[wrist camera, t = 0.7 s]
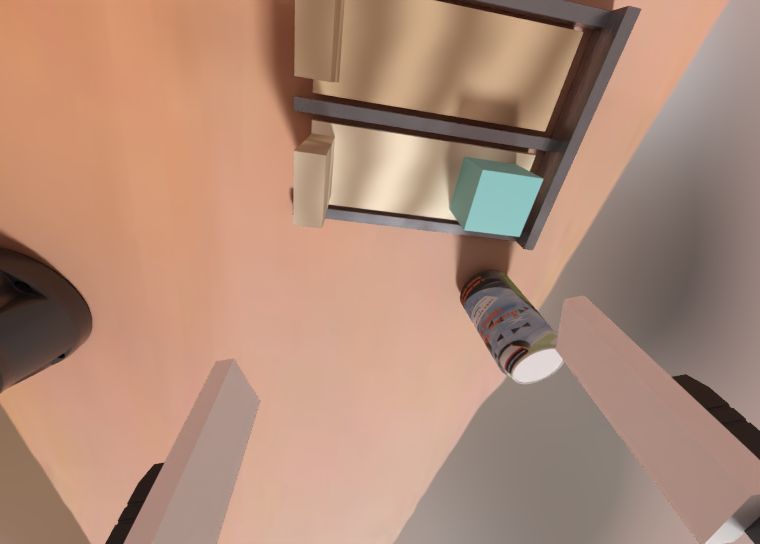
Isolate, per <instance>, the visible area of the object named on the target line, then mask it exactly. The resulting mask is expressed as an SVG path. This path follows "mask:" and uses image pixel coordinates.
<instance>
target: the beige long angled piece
mask: <svg viewBox="0 0 760 544" xmlns="http://www.w3.org/2000/svg"><path fill="white" fill-rule="evenodd" d="M535 156H536V155H533V154H531V153H525V152H519V151H513V150H506V149H500V148H494V147H487V146H481V145H475V144H468V143H462V142H455V141H449V140H443V139H436V138H430V137H424V136H417V135H411V134H405V133H398V132H392V131H386V130H379V129H373V128H367V127H360V126H354V125H347V124H341V123H335V122H328V121H322V120H316V119H313V120H312V129H311V134H310V135H309V136H308V137H307V138H306V139H305V140H304V141H303V142H302V143H301V144H300V145H299V146H298V147H297V148H296V149H295V150H294V202H293V225H296V226H305V227H313V228H322V227H323V223H324V219H325V215H326V212H327V208H328V204H330V205H338V206H346V207H354V208H362V209H370V210H378V211H386V212H394V213H402V214H410V215H418V216H426V217H434V218H442V219H450V220H457V219H456V218H455V217H454V215H453V214H452V212H451V211H450V206H451V202H452V199H453V195H454V192H455V188H456V184H457V181H458V177H459V173H460V170H461V166H462V162H463V159H464V157H471V158H477V159H484V160H490V161H497V162H504V163H510V164H516V165H518V166H520V167H522V168H524V169H526V170H528V171H530V169H531V167H532V164H533V161H534V159H535Z"/></svg>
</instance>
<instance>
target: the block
mask: <svg viewBox="0 0 760 544" xmlns="http://www.w3.org/2000/svg"><path fill="white" fill-rule="evenodd" d="M542 182H543V178H541V177H539V176H537V175H536V174H534V173H532V172H530V171H528V170H526V169H524V168H522V167H520V166H518V165H516V164H510V163H504V162H497V161H490V160H484V159H477V158H471V157H464V159H463V162H462V166H461V170H460V173H459V177H458V181H457V184H456V188H455V192H454V195H453V199H452V202H451V206H450V211H451V212H452V214H453V215H454V217H455V218H456V219H457V221H458V222H459V224H460V225H461V227H462V228H463V229H464V230H466V231H474V232H483V233H491V234H499V235H507V236H516V237H520V235H521V232H522V230H523V227H524V225H525V223H526V220H527V218H528V215H529V213H530V211H531V208H532V206H533V203H534V201H535V199H536V196H537V194H538V191H539V189H540V186H541V184H542Z"/></svg>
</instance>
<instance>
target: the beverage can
mask: <svg viewBox="0 0 760 544" xmlns="http://www.w3.org/2000/svg"><path fill="white" fill-rule="evenodd" d="M460 301H461V304H462V305H463V307H464V309H465V310H466V312H467V314H468V315H469V317H470V319H471V321H472V322H473V324H474V326H475V327H476V329H477V331H478V333H479V334H480V336H481V338H482V339H483V341H484V343H485V344H486V346H487V348H488V350H489V351H490V353H491V355H492V356H493V358H494V360H495V361H496V363H497V365H498V367H499V368H500V370H501V371H502V372H503V373H505V374H506V375H508V376H510V377H512V378H513V379H514V381H516V382H517V383H521V384H531V383H535V382H538V381H541V380H543V379H545V378H547V377H549V376H551V375H552V374H554V373H555V372H556V371H557V370H558V369H559V368H560V367H561V366H562V364H563V363H564V360H563V359H562V358H561V356H560V355H559V354H558V352H557V351H556V344H557V338H558V335H557V334H556V332H555V331H554V330H553V329H552V328H551V327H550V325H549V324H548V323H547V322H546V321H545V320H544V318H543V317H542V316H541V315H540V314H539V313H538V311H537V310H536V309H535V308H534V307H533V306H532V304H531V303H530V302H529V301H528V300H527V299H526V297H525V296H524V295H523V294H522V293H521V291H520V290H519V289H518V288H517V287H516V286H515V284H514V283H513V282H512V281H511V280H510V279H509V277H508V276H507V275H506V274H504V273H503V272H500V271H496V270H491V271H486V272H482V273H480V274H478V275H476V276H474V277H473V278H472V279H470V280H469V281H468V282H467V283H466V284H465V286H464V287H463V289H462V291H461V295H460Z"/></svg>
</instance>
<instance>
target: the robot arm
mask: <svg viewBox="0 0 760 544" xmlns="http://www.w3.org/2000/svg"><path fill="white" fill-rule="evenodd" d="M91 330H92V318H91V314H90V311H89V309H88V307H87V305H86V303H85V302H84V300H83V299H82V297H81V296H80V295H79V293H78V292H77V291H76V290H75V289H74V288H73V287H72V286H71V285H70V284H69V283H68V282H67V281H66V280H64V279H63V278H62V277H61V276H59V275H58V274H57V273H55V272H54V271H52V270H51V269H49V268H48V267H46V266H44V265H42V264H41V263H39V262H37V261H35V260H33V259H31V258H29V257H26V256H24V255H22V254H19V253H16V252H13V251H10V250H7V249H4V248H0V393H2V392H3V391H4V390H6V389H7V388H9V387H11V386H13V385H15V384H17V383H19V382H21V381H23V380H25V379H27V378H29V377H31V376H33V375H35V374H37V373H38V372H40V371H42V370H44V369H46V368H48V367H49V366H51V365H53V364H56V363H58V362H60V361H62V360H64V359H66V358H67V357H68V356H70V355H71V354H72V353H73V352H75V351H76V350H77V349H78V348H79V347H80V346H81V345H82V344H83V343H84V342H85V341H86V340H87V339H88V337H89V336H90V333H91ZM556 351H557V352H558V354H559V355H560V356H561V358H562V359H563V360H564V362H565V363H566V364H567V366H568V367H569V369H570V370H571V371H572V372H573V374H574V375H575V376H576V378H577V379H578V381H579V382H580V383H581V385H582V386H583V387H584V389H585V390H586V391H587V393H588V394H589V395H590V397H591V398H592V399H593V401H594V402H595V403H596V405H597V406H598V408H599V409H600V410H601V411H602V413H603V414H604V416H605V417H606V418H607V420H608V421H609V422H610V423H611V425H612V426H613V428H614V429H615V430H616V432H617V433H618V434H619V436H620V437H621V438H622V440H623V441H624V442H625V444H626V445H627V446H628V448H629V449H630V451H631V452H632V453H633V455H634V456H635V457H636V458H637V460H638V461H639V463H640V464H641V465H642V467H643V468H644V469H645V471H646V472H647V473H648V475H649V476H650V477H651V479H652V480H653V481H654V483H655V484H656V486H657V487H658V488H659V490H660V491H661V492H662V494H663V495H664V496H665V498H666V499H667V500H668V502H669V503H670V504H671V506H672V507H673V508H674V510H675V511H676V512H677V514H678V515H679V516H680V518H681V519H682V520H683V522H684V523H685V524H686V526H687V527H688V529H689V530H690V531H691V533H692V534H693V535H694V537H695V538H696V539H697V541H698V542H699V543H700V544H723V543H729V542H734V541H735V540H736V539H737V538H739V536H741V535H742V534H743V533H744V532H745V533H746V534H747V535H748V536H749V538H750V539H751V540H752V541H753V542H754V543H755V544H760V431H759V430H758V429H757V428H756V427H755V426H753V425H752V424H751V423H748V422H747V421H746V419H745V418H744V417H743V416H742V415H741V414H740V413H738V412H737V411H736V410H735V409H734V408H731V407H730V406H729V404H728V403H727V402H725V400H723V399H722V398H721V397H720V396H719V395H718V394H716V393H715V392H714V391H713V390H712V389H710V388H709V387H708V386H706V385H704V384H702V383H700V382H699V381H697V380H695V379H693V378H691V377H690V376H688V375H686V374H685V375H680V376H674V377H671V376H669V375H668V374H667V373H666V372H665V371H664V370H663V369H662V368H661V367H660V366H659V365H658V364H657V363H656V362H655V361H654V360H652V359H651V358H650V357H649V356H648V355H647V354H646V353H645V352H644V351H643V350H642V349H641V348H639V347H638V346H637V345H636V344H635V343H634V342H633V341H632V340H631V339H630V338H629V337H628V336H627V335H626V334H625V333H623V331H621V330H620V329H619V328H618V327H617V326H616V325H615V324H614V323H613V322H612V321H611V320H610V319H609V318H608V317H606V316H605V315H604V314H603V313H602V312H601V311H600V310H599V309H598V308H597V307H596V306H595V305H594V304H593V303H591V302H590V301H589V300H588V299H587V298H586V297H585V296H578V297H573V298H568V299H564V302H563V308H562V314H561V320H560V326H559V332H558V338H557V344H556ZM259 404H260V400H259V398H258V397H257V395H256V393H255V392H254V390H253V388H252V387H251V385H250V384H249V382H248V380H247V379H246V377H245V375H244V374H243V372H242V371H241V369H240V367H239V366H238V364H237V362H236V361H235V359H229V360H223V361H218V362H215V364H214V366H213V368H212V370H211V372H210V374H209V376H208V378H207V380H206V382H205V384H204V386H203V388H202V390H201V392H200V394H199V396H198V398H197V400H196V402H195V404H194V406H193V408H192V410H191V412H190V414H189V416H188V418H187V419H186V421H185V423H184V425H183V427H182V429H181V431H180V433H179V435H178V437H177V439H176V441H175V443H174V445H173V447H172V449H171V451H170V453H169V455H168V457H167V459H166V461H165V463H159V464H154V465H153V466H152V468H151V469H150V470H149V471H148V472H147V473H146V475H145V476H144V477H143V478H142V479H141V481H140V482H139V483H138V485H137V487H136V488H135V490H134V492H133V494H132V496H131V498H130V499H129V501H128V503H127V504H128V506H127V507H125V509H124V510H123V512H122V514H121V516H120V518H119V519H118V524H117V525H115V527H114V529H113V530H112V532H111V534H110V536H109V538H108V540H107V541H106V543H105V544H217V541H218V538H219V535H220V531H221V528H222V525H223V522H224V518H225V515H226V512H227V509H228V505H229V502H230V499H231V495H232V492H233V489H234V486H235V482H236V479H237V476H238V472H239V469H240V466H241V463H242V459H243V456H244V453H245V450H246V446H247V443H248V440H249V436H250V433H251V430H252V427H253V423H254V420H255V417H256V413H257V410H258V407H259Z"/></svg>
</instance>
